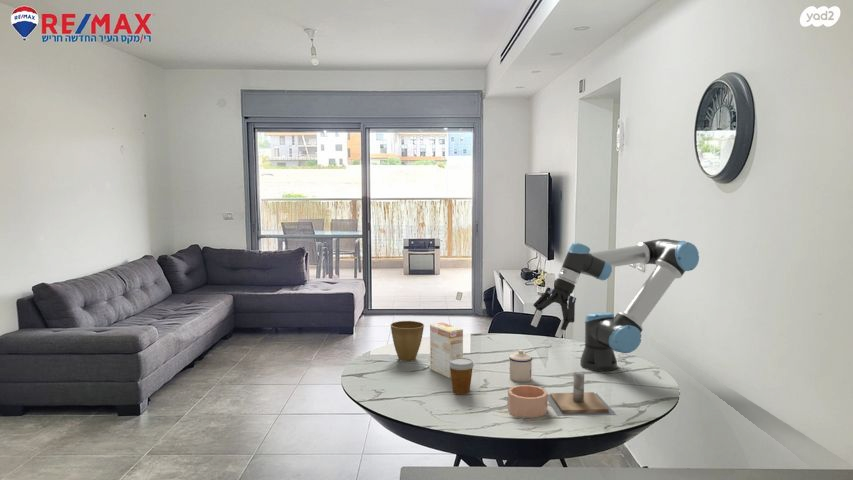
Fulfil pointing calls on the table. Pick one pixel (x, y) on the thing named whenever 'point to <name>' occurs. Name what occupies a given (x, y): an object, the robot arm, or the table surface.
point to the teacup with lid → (520, 366)
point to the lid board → (579, 407)
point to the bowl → (527, 401)
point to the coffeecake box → (444, 347)
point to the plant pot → (407, 339)
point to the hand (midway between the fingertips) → (545, 331)
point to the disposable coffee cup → (461, 375)
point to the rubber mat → (578, 413)
